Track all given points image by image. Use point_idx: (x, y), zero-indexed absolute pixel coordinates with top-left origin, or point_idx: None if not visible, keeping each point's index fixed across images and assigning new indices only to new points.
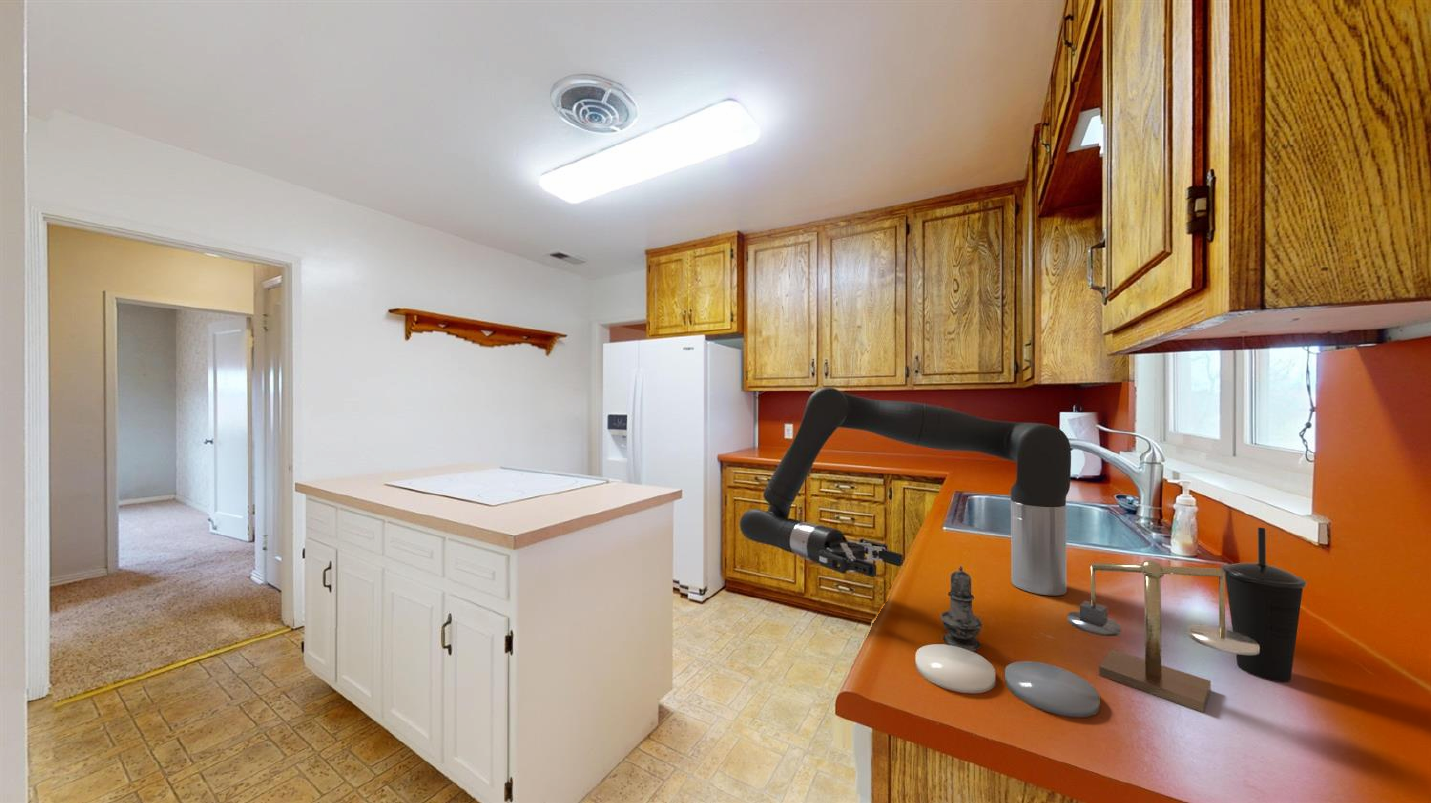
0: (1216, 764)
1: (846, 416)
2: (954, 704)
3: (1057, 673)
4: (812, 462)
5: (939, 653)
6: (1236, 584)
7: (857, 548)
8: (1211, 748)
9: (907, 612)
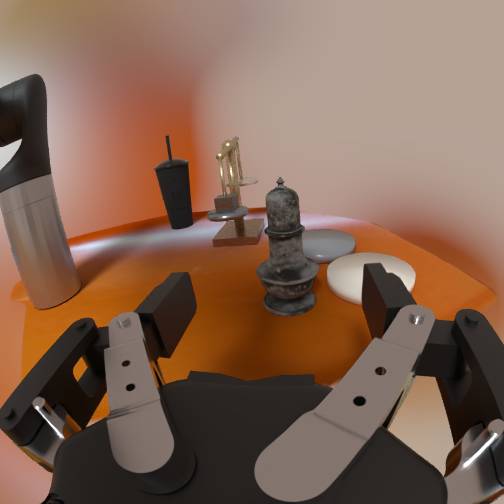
0: (318, 218)
1: None
2: (416, 264)
3: None
4: None
5: None
6: (179, 170)
7: (203, 403)
8: (304, 220)
9: None
